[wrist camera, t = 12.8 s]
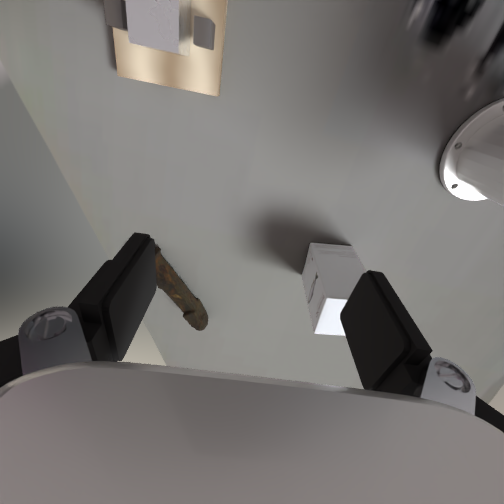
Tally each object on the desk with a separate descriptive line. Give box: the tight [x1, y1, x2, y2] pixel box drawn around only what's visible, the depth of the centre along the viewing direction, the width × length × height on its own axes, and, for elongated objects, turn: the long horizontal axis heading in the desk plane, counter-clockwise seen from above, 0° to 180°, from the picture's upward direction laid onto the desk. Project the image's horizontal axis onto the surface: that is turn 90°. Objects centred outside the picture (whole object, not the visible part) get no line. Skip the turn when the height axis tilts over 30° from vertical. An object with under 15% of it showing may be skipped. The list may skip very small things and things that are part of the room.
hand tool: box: [155, 247, 208, 331], centre depth 46 cm, size 19×4×5 cm, turn 23°
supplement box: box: [302, 243, 366, 336], centre depth 38 cm, size 7×7×13 cm
